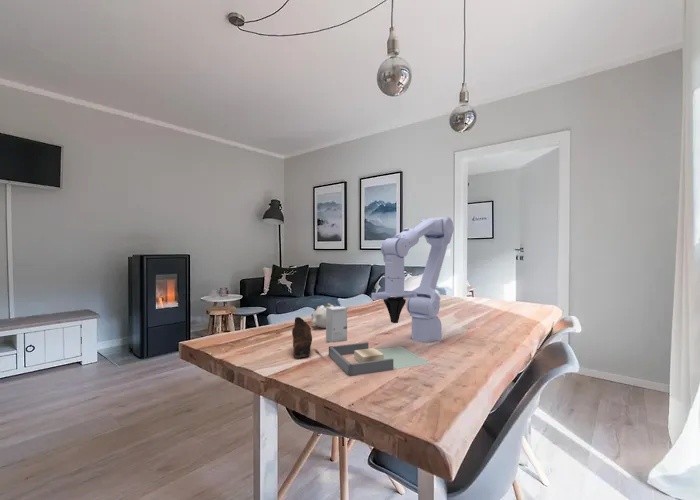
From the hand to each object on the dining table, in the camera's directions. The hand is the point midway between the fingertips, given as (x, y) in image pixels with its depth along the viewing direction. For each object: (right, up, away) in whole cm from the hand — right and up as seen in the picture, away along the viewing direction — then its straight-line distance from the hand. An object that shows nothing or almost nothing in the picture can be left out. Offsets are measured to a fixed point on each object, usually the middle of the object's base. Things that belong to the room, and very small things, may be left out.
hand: (394, 322), depth 100 cm
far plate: (0, -10, -7) cm, 12 cm away
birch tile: (-8, -9, -10) cm, 16 cm away
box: (-11, -10, -12) cm, 19 cm away
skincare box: (-18, -10, +10) cm, 23 cm away
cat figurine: (-24, -9, +34) cm, 42 cm away
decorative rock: (-28, -10, +1) cm, 30 cm away
